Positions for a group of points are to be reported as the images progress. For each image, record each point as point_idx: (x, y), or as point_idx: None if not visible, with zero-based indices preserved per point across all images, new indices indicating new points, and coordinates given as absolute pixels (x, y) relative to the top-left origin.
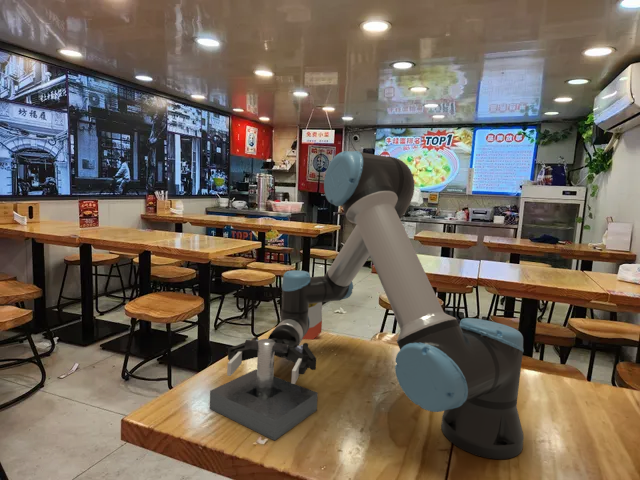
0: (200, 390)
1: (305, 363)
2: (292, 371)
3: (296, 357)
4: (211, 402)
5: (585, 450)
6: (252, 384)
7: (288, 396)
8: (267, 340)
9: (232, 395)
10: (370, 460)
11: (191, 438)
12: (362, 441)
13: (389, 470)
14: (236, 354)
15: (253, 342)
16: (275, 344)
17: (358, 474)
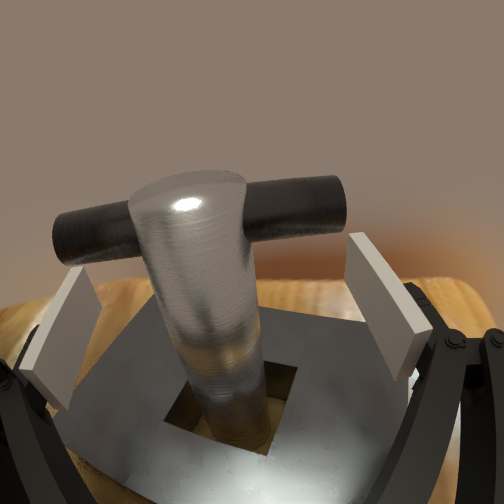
0: None
1: (18, 364)
2: (82, 269)
3: (47, 444)
4: None
5: None
6: (309, 427)
7: (136, 389)
8: (184, 199)
9: (328, 335)
10: (24, 320)
11: (337, 281)
12: (16, 356)
13: (13, 310)
14: (406, 294)
15: (275, 180)
16: (126, 201)
17: (49, 296)
